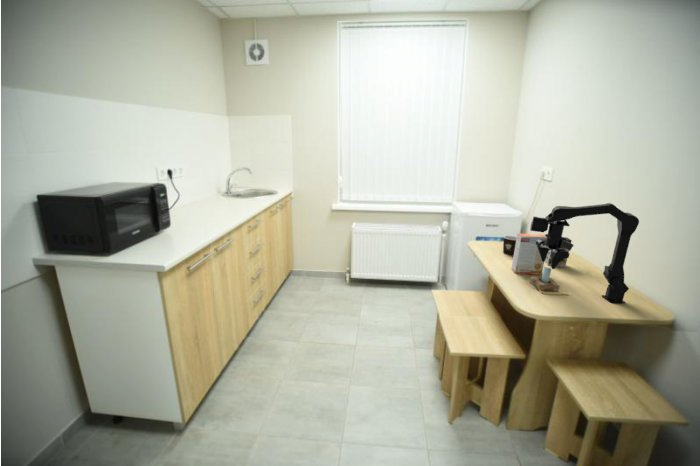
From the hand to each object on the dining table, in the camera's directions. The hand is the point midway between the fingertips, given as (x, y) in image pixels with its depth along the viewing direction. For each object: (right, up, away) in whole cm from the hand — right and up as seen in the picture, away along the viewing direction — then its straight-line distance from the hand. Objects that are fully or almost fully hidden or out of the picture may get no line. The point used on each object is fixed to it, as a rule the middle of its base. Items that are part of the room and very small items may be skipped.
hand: (548, 265), depth 159 cm
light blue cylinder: (0, -11, +3) cm, 12 cm away
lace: (+1, -13, -1) cm, 13 cm away
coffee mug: (+5, +2, +48) cm, 49 cm away
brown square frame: (0, -11, +3) cm, 12 cm away
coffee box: (+23, -3, +33) cm, 41 cm away
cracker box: (+1, -6, +22) cm, 22 cm away
